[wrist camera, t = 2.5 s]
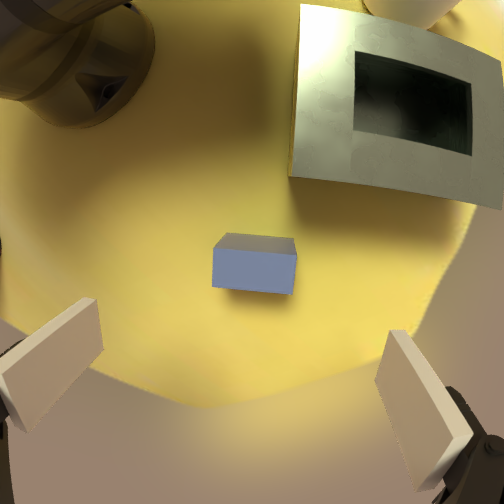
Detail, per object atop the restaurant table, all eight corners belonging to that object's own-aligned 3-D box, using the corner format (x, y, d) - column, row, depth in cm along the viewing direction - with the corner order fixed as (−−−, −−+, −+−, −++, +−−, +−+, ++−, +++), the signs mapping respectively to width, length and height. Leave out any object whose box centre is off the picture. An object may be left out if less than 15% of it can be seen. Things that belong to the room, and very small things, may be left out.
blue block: (225, 264, 29) (212, 286, 23) (226, 232, 28) (213, 247, 23) (289, 270, 29) (292, 294, 23) (293, 238, 28) (296, 255, 22)
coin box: (287, 175, 27) (291, 176, 18) (295, 50, 24) (301, 4, 15) (447, 198, 26) (501, 210, 17) (451, 83, 23) (500, 61, 14)
